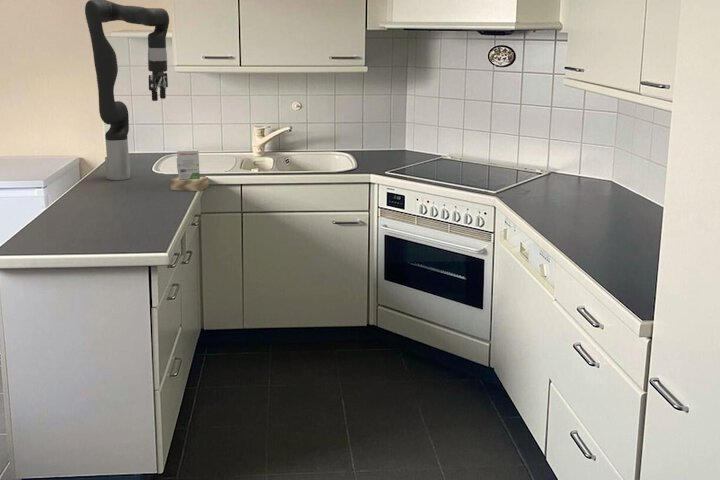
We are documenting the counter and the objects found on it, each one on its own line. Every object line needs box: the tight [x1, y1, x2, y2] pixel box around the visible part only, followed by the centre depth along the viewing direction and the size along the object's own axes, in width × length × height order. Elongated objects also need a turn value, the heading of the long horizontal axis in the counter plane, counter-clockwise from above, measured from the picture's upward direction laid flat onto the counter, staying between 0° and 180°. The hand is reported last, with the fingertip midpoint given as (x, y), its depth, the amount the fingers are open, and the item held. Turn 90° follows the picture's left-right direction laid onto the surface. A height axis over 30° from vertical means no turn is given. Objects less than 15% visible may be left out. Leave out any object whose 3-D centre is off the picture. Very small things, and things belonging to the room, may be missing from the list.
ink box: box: [176, 148, 201, 180], centre depth 350 cm, size 8×5×12 cm, turn 104°
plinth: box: [169, 176, 210, 192], centre depth 352 cm, size 13×9×4 cm
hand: (158, 99), depth 350 cm, fingers open, 8 cm apart
